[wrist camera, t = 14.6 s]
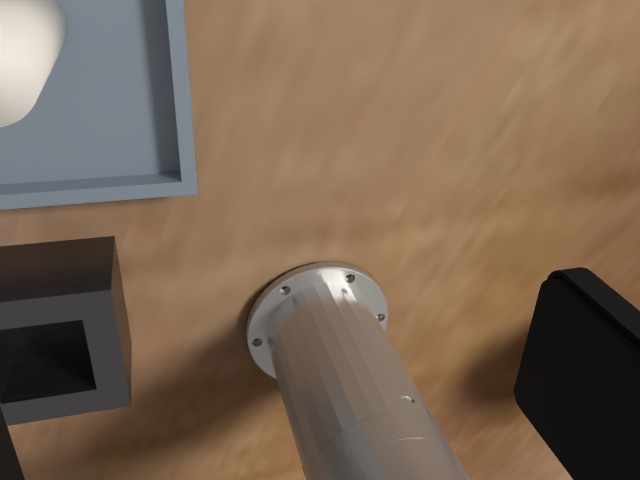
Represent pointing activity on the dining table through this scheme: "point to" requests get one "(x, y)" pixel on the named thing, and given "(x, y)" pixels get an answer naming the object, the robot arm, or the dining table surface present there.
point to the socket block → (62, 330)
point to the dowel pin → (27, 52)
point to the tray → (107, 112)
